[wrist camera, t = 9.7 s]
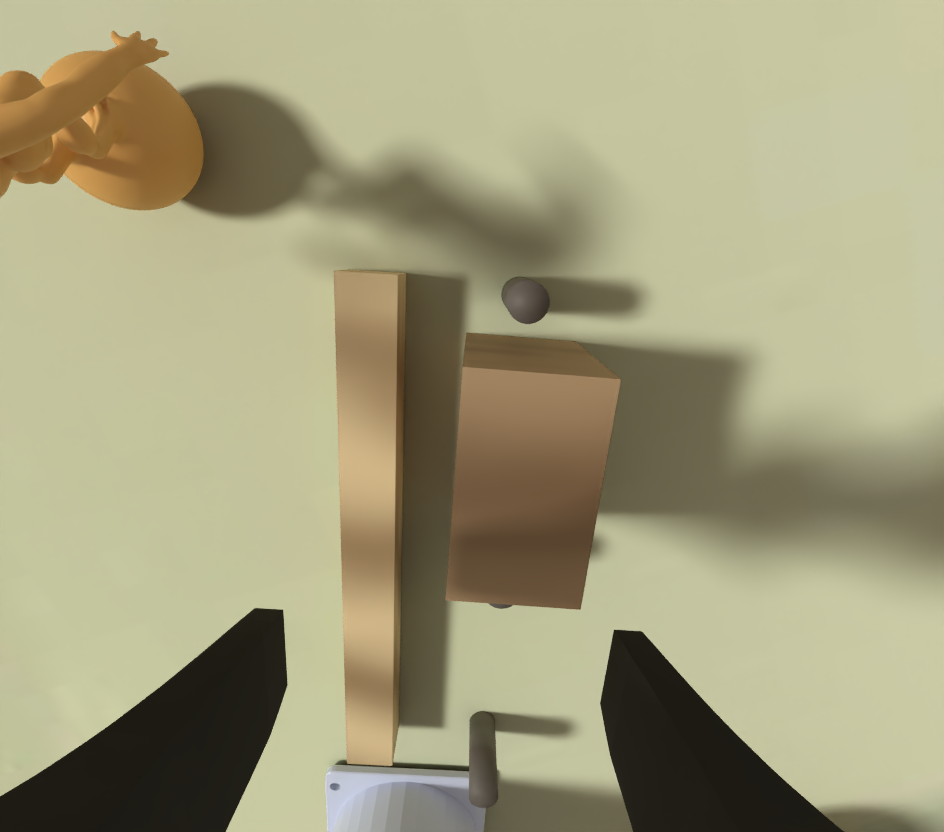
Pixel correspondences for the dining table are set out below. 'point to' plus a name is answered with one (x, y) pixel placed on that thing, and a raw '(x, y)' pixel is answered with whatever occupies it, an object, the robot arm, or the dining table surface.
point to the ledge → (386, 511)
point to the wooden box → (528, 470)
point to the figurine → (101, 127)
